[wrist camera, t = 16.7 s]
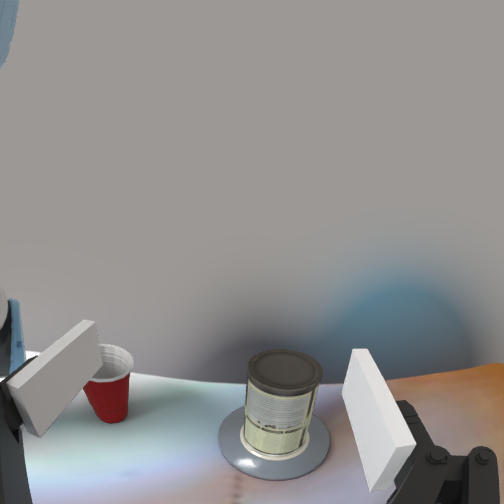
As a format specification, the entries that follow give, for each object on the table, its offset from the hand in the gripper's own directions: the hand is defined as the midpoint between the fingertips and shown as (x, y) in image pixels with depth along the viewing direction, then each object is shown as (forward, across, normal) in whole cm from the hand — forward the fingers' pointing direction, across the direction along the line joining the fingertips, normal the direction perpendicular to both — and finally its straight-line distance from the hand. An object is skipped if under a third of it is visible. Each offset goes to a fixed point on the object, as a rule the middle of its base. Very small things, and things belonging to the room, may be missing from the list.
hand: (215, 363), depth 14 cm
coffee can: (+23, +6, -29) cm, 37 cm away
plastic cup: (+23, -22, -30) cm, 44 cm away
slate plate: (+23, +6, -30) cm, 38 cm away
